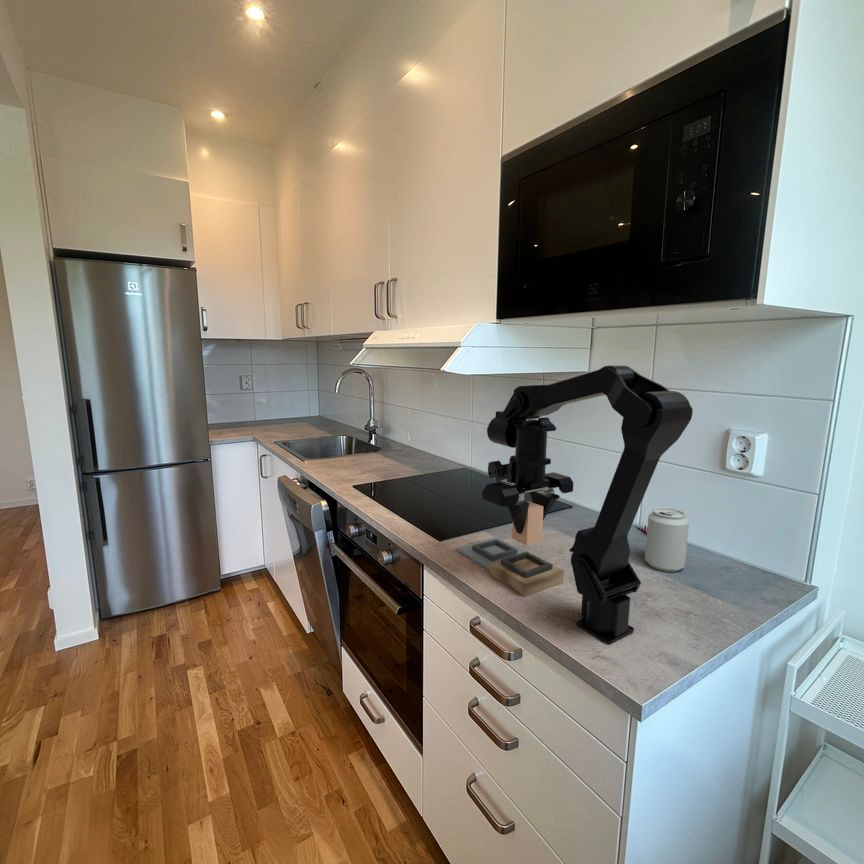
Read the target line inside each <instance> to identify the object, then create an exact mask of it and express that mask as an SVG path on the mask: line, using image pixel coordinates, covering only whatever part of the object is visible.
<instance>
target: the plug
mask: <svg viewBox="0 0 864 864" xmlns="http://www.w3.org/2000/svg"><path fill="white" fill-rule="evenodd" d="M525 501H526V502H528V503H529V508H528V512H527V516H526V520H525V524H524V528H523V531H522V534H519V533H517V532H516V529H515V526H514V523H513V522H512V533H511V535H512V537H511V539H512V540H514V541H516V542H518V543H521V544H522V545H525V546H530V545H534V544H537V543H541V542H542V541H543V528H544V527H543V524H544V523H543V521H544V520H543V506H541V505H538V504H535V503H533V502H532V501H531V500H525Z"/></svg>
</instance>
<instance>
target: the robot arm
mask: <svg viewBox="0 0 864 864" xmlns="http://www.w3.org/2000/svg"><path fill="white" fill-rule="evenodd" d="M603 396H605V397H606V398H607V400H608V402H609V404H610V406H611V408H612V409H613V410H614V411H615V412H616V413H617V414H619V415H620V416H621V417H622V422H621V425H620V427H621V428H620V430H621V435H622V439H623V447H624V448H623V449H622V454H621V456H620V458H619V461H618V463H617V467H616V469H615V471H614V475H613V477H612V479H611V482H610V485H609V487H608V490H607V493H606V496H605V498H604V500H603V503H602V507H601V509H600V511H599V514H598V516H597V520H596V522H595V524H594V525H593V526H592V527H588V528H585V529H580V530H578V531H577V533H576V534H575V538H574V544H573V545H572V546H571V548H570V549H569V552H571V557H570V564H571V568H572V571H573V577H574V582H575V587H576V592H577V593H578V594H580V595H581V598H582V599H581V611H580V612H581V613H580V616H581V618H579V619H576V620H575V624H576V625H577V626H578V627H580V628H581V629H583V630H585V631H587V632H588V633H590V634H591V635H593V636H595V637H596V638H598V639H600V640H601V641H603V642H605V643H606V644H609V645H610V644H612V643H614V642H616V641H618V640H620V639H622V638H624V637H626V636H628V635H631V634H632V633H634V632H635V629H634V627H633V626H631V625H629V623H630V622H629V619H630V618H629V617H630V606H631V597H629V595H630V594H633V593H637V592H638V591H639V588H640V587H641V585H642V582H641V580H640V578H639V576H638V574H636V572H635V570H634V568H633V567H632V565H631V563H630V562H629V558H630V554H631V548H630V543H629V539H628V537H629V536H628V535H629V532H630V530H631V527H632V525H633V523H634V521H635V518H636V516H637V514H638V511H639V509H640V506H641V504H642V502H643V499H644V497H645V494H646V492H647V490H648V487H649V485H650V482H651V479H652V477H653V475H654V473H655V470H656V468H657V466H658V463H659V461H660V459H661V457H662V456H663V455H664V454H665V453H666V452H667V451H668V450H669V449H670V448H671V447H672V446H673V445H674V444H675V443H676V442H677V441H679V439H680V438H681V436H682V434H683V432H684V431H685V430H686V429H687V427H688V426H689V424H690V422H691V421H692V417H693V414H694V413H693V411H694V410H693V407H692V406H691V403H690V401H689V399H688V398H687V397H686V396H685V395H684V394H683V393H681V392H679V391H676V390H670V389H668V388H667V387H666V386H664V385H662V384H660V383H658V382H656V381H654V380H652V379H650V378H647V377H645V376H643V375H641V374H640V373H639V372H637V371H635V369H633V368H631V367H630V366H627V365H604V366H602V367H601V368H599V369H597V370H594V371H593V370H592V371H590V372H586V373H583V374H580V375H576V376H573V377H569V378H566V379H563V380H560V381H556V382H553V383H550V384H535V385H532V384H531V385H518V386H517V387H515V388H514V390H513V393H512V395H511V397H510V399H509V400H508V402H507V405H506V406H505V408H504V409H503V410H496V411H495V416H494V417H493V418H492V419H491V420H490V422H489V423H488V426H487V428H486V435H487V438H488V439H489V440H490V441H491V443H494V444H497V445H502V446H504V447H508V448H512V449H513V448H514V449H515V450H514V451H515V454H514V455H510V458H509V463H504V464H502V462H501V461H500V460H495V461H490V462H488V465H487V474H488V477H489V478H490V479H495V482H494V483H493V482H492V483H487V484H484V486H483V487H482V492H481V493H482V497H481V498H482V500H485V501H487V502H489V503H491V504H495V505H497V506H499V507H507V509H508V511H509V514H510V516H511V519H512V524H513V523H514V526H515V529H516V532H517V533H519V534H522V531H523V528H524V524H525V520H526V516H527V512H528V508H529V503H528V502H526V501H527V500H525V496H526V494H529V497H530V498H531V500H532V501H531V502H533V503H535V504H538V505H541V506H543V521H544V519H546V516H547V515H548V513H549V511H550V510H551V509H552V507H553V505H554V504H555V503H556V502H557V500H558V499H560V498H561V496H560V495H559V494H556V493H555V489H556V488H558V490H559V491H560V493H561V494H567V493H571V492H572V493H573V492H574V480H573V479H572V478H571V476H568V475H565V474H561V473H557V472H553V471H552V472H548V473H546V467H547V466H548V465H551V463H552V461H551V460H552V459H551V458H549V457H547V448H548V447H547V445H548V432H555V431H557V426H556V425H555V424H554V423H553V422H552V421H551V420H550V418H549V417H545V416H549V415H551V414H553V413H555V412H557V411H559V410H560V409H561V408H562V407H563V406H565V405H568V404H573V403H577V402H581V401H585V400H590V399H593V398H597V397H603ZM503 480H505V481H506V483H504V482H501V481H503ZM507 483H510V484H513V485H510V484H507Z"/></svg>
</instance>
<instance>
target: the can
mask: <svg viewBox="0 0 864 864" xmlns="http://www.w3.org/2000/svg"><path fill="white" fill-rule="evenodd" d="M651 511H652V512H651V513H650V514H648V519H647V531H646V542H645V543H646V544H645V555H644V560H645V561H646V562H647V564H649V566H651V568H653V569H655V570H658V571H662V572H668V573H674V572H678V571H680V570H681V569H683V568H685V566H686V557H687V547H688V546H687V545H688V539H689V538H688V537H689V535H688V534H689V527H690V521H689V519H688V518H687V517H686V516H687V513H686V512H684V511H683V510H680V509H677V508H675V507H674V508H673V507H666V506H658V507H654V508H652V510H651Z"/></svg>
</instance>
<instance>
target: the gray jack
mask: <svg viewBox="0 0 864 864" xmlns="http://www.w3.org/2000/svg"><path fill="white" fill-rule="evenodd" d="M456 551H457V552H458V553H460V554H461V555H462V556H465V557H466V558H468V559H469V560H471V561H473V562H474V563H476V564H478V565H479V566H481V567H483V568H484V569H485V570H487V571H488V572H490V563H492V562H495V561H499V560H501V559H504V558H507V557H511V556H514V555H518V554H521V553H524V552H527V551H526V550H523V549H521V548H520V547H518V546H515V545H514V544H511V543H510V542H508V541H506V540H504V539H502V538H499V537H493V538H490V539H486V540H483V541H478V542H475V543H471V544H466V545H464V546H463V545H462V546H460V547H456Z"/></svg>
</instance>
